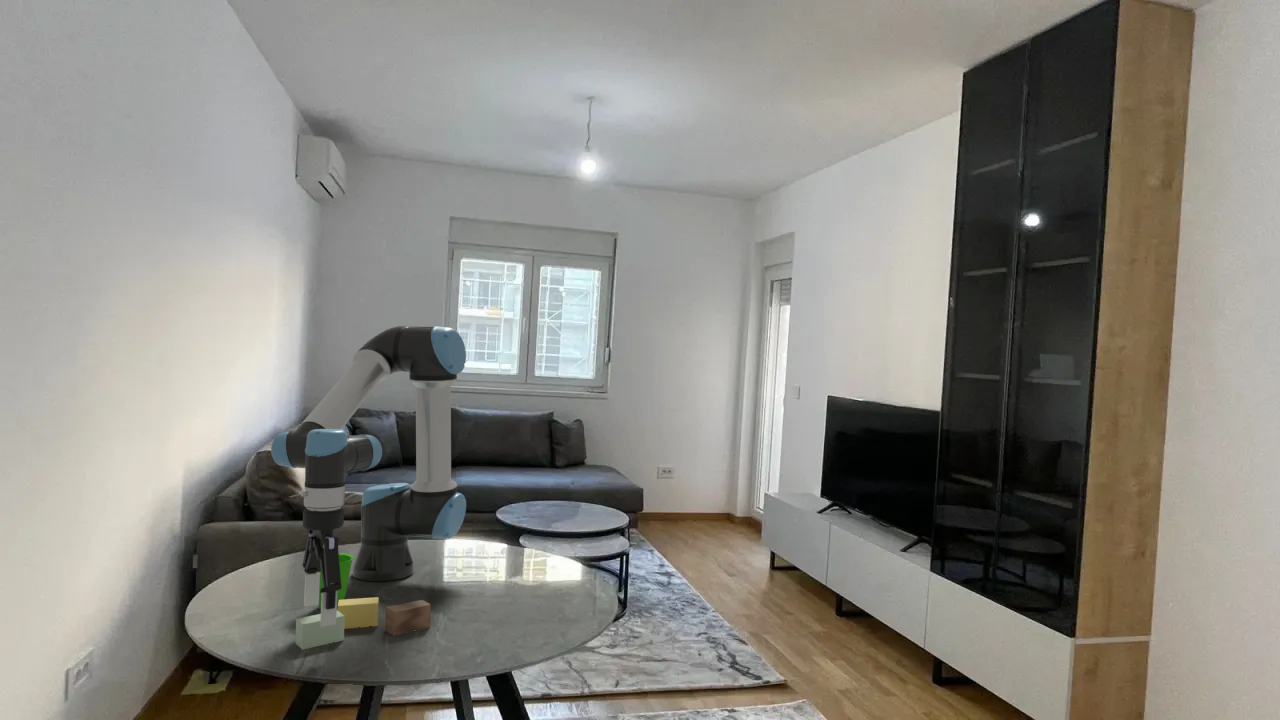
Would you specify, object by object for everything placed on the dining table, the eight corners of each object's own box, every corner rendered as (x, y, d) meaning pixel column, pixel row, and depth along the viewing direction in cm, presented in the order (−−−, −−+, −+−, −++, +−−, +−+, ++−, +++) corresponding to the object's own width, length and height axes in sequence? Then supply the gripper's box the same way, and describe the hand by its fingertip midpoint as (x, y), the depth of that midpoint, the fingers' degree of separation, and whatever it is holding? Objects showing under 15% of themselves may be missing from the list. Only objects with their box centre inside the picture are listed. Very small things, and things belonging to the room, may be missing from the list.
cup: (360, 603, 173) (362, 555, 173) (332, 616, 164) (334, 565, 164) (329, 598, 176) (330, 551, 175) (299, 610, 167) (301, 560, 167)
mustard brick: (337, 629, 156) (337, 605, 156) (338, 623, 160) (338, 599, 160) (377, 626, 159) (378, 603, 159) (377, 620, 163) (378, 597, 163)
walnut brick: (393, 636, 154) (394, 612, 154) (385, 631, 157) (386, 607, 157) (430, 628, 159) (430, 604, 159) (421, 622, 162) (422, 599, 162)
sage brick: (302, 650, 145) (302, 624, 145) (295, 644, 148) (296, 618, 148) (343, 640, 151) (344, 615, 151) (336, 635, 154) (337, 610, 154)
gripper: (290, 498, 157) (285, 600, 157) (319, 520, 137) (314, 637, 137) (327, 496, 162) (323, 595, 161) (361, 516, 142) (356, 630, 141)
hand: (319, 615), depth 149 cm, fingers open, 13 cm apart
